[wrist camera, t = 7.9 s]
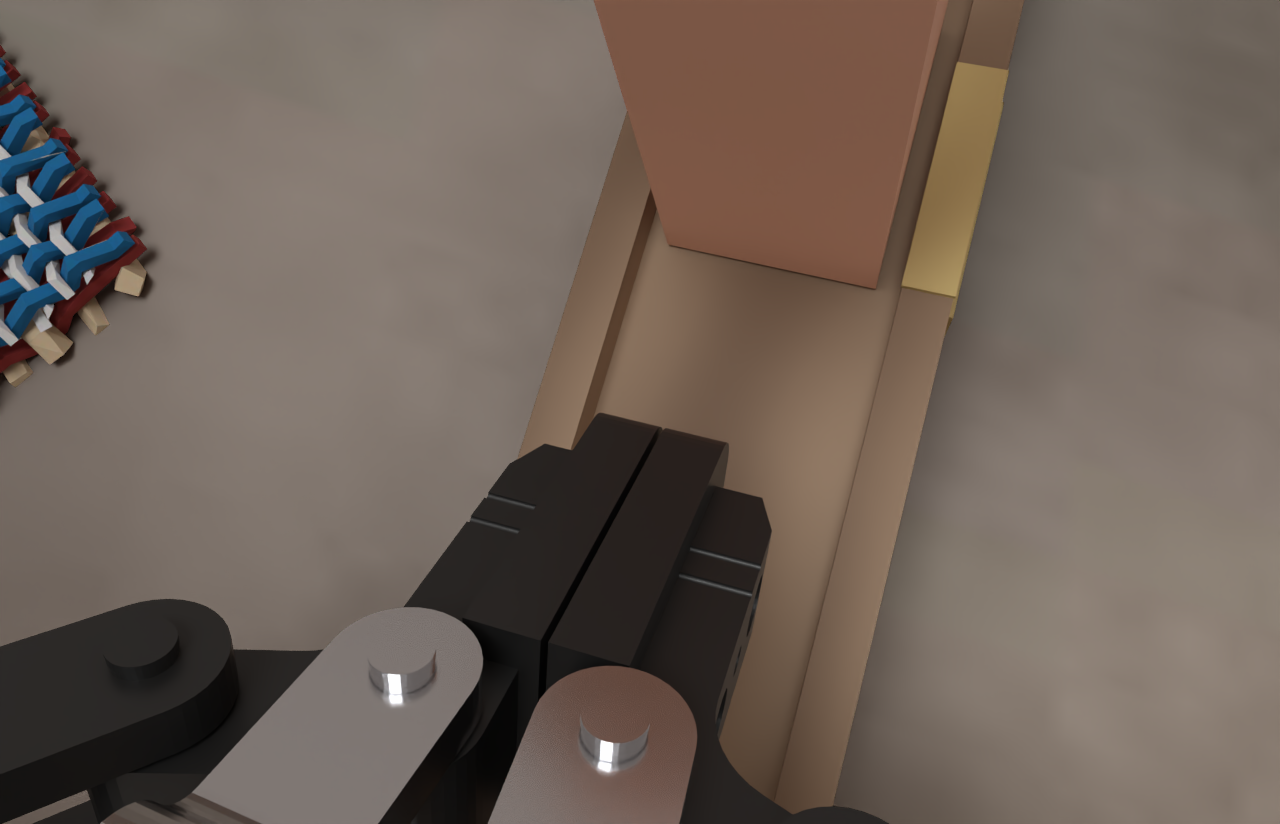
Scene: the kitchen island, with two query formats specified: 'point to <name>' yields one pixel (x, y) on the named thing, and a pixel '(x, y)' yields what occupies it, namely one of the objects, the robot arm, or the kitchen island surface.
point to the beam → (792, 397)
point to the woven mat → (52, 236)
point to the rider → (776, 122)
